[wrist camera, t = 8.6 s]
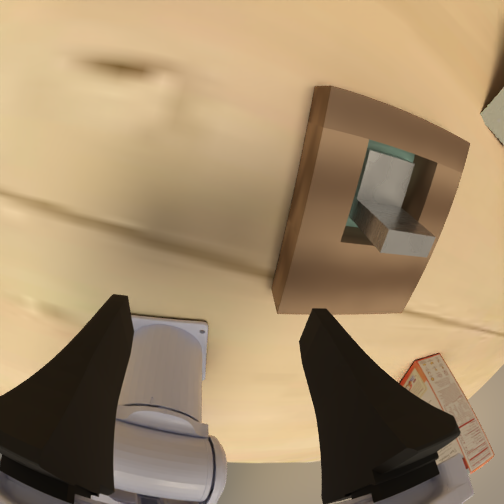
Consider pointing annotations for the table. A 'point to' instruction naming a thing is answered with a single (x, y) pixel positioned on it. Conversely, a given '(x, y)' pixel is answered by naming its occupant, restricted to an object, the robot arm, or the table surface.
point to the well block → (341, 198)
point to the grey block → (388, 206)
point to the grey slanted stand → (495, 116)
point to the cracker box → (450, 410)
